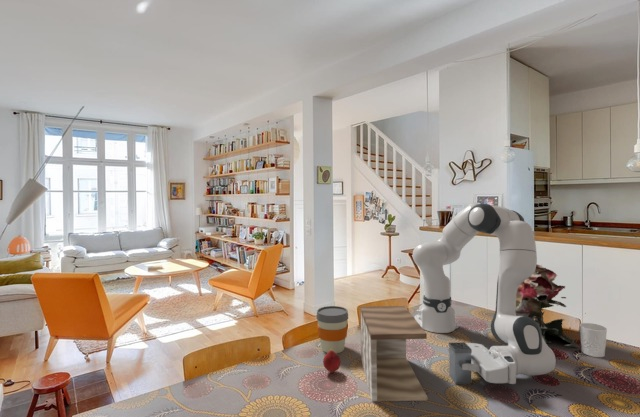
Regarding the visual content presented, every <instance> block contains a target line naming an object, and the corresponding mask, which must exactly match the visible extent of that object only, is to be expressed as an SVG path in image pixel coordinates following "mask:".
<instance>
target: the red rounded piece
mask: <svg viewBox="0 0 640 417" xmlns="http://www.w3.org/2000/svg"><path fill="white" fill-rule="evenodd" d="M322 360H323V361H322V364H323V366H324V368H325V370H326V371H328V372H329V373H330V374H334V373H335V372H337V370H339V368H340V367H341V358H340V356H339V355H338V353H335V352H334V351H333V350H332V349H330V352H328V353H326V354H325V355H324V357H323V359H322Z"/></svg>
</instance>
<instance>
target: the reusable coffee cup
mask: <svg viewBox="0 0 640 417" xmlns="http://www.w3.org/2000/svg"><path fill="white" fill-rule="evenodd" d="M316 320H317V324H316V325H317V326H316V327H317V332H318V333H317V334H318V338H319V340H320V348H321V351H323V352H324V353H326V354H327V353H328V352H330V349H332V350H333V351H334V352H335V353H336V354H340V353H342V352H343V351H345V345H346V339H347V335H348V327H349V324H348V320H349V312H348V309H347V308H346V307H344V306H339V305H327V306H323V307H319V308H318V309H317V310H316Z"/></svg>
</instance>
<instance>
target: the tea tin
mask: <svg viewBox="0 0 640 417" xmlns="http://www.w3.org/2000/svg"><path fill="white" fill-rule="evenodd" d="M466 343H467V342H448V347H449V348H448V350H449V351H448V352H449V355H448V358H449V359H448V360H449V361H448V362H449V365H448V366H449V368H448V370H449V377H450V379H451V380H452V381H453V383H454V385H471V384H472V371H469V370H463V369H462V368H461V362H466V363H469V364H471V353H472V349H471V348H470V347H469V346H468V345H467V344H466Z"/></svg>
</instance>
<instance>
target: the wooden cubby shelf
mask: <svg viewBox="0 0 640 417" xmlns="http://www.w3.org/2000/svg"><path fill="white" fill-rule="evenodd" d="M427 337H428V336H427V331H426V330H424V329H422V327H421V326H420V325H419V324H418V322H417V321H416V320H415V318H414V315H412V313H411V312H410V311H409V310H408V309H407V307H406V306H405V305H391V306H390V305H386V306H385V305H384V306H383V305H381V306H380V305H379V306H376V305H375V306H360V358H361V364H362V367H363V372H364V376H365V380H366V384H367V387H368V391H369V395H370V400H371V402H407V401H408V402H410V401H411V402H412V401H415V402H416V401H417V402H418V401H421V402H423V401H428V395H427V394H426V392H425V390H424V388H423V386H422V385H421V383H420V381H419V380H418V377H417V375H416V374H415V372H414V369H413V368H412V366H411V365H410V363H409V361H408V359H407V340H427Z"/></svg>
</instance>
